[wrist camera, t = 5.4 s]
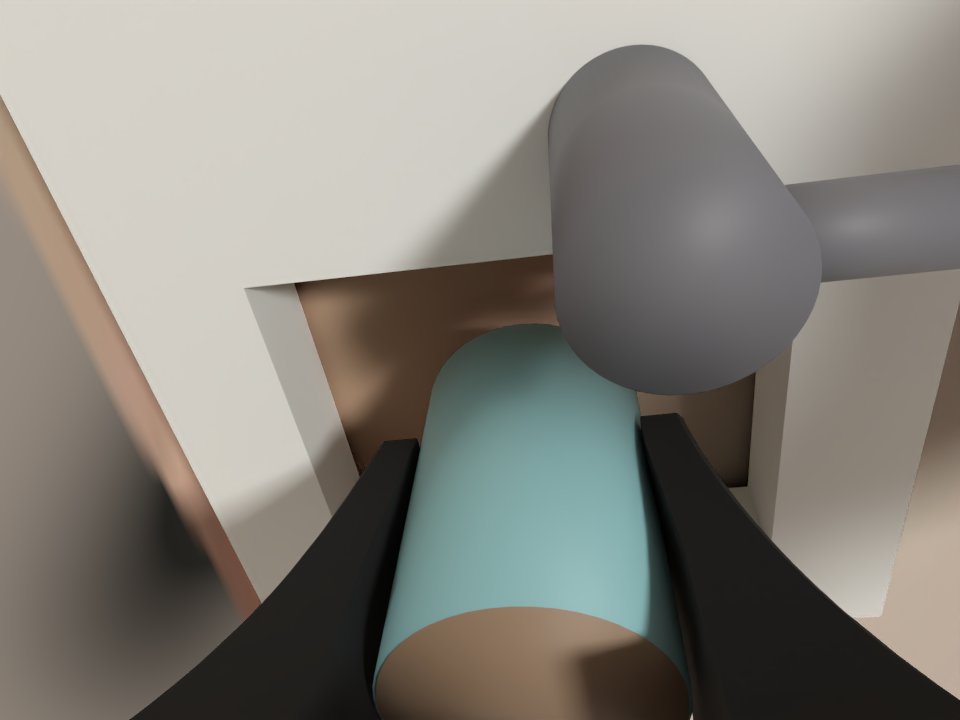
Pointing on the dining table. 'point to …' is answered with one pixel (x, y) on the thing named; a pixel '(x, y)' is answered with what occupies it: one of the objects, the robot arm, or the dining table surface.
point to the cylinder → (531, 550)
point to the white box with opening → (522, 220)
